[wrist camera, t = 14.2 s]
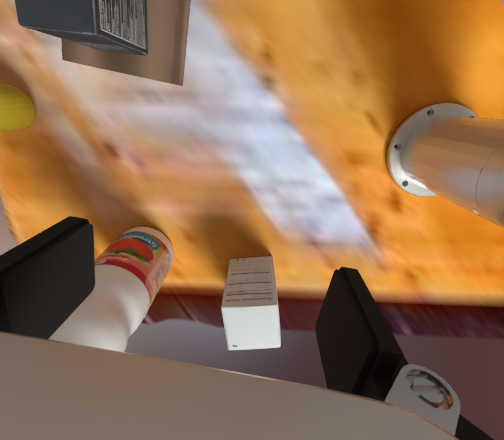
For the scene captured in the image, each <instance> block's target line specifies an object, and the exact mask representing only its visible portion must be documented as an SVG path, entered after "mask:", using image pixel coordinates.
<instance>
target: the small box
mask: <svg viewBox="0 0 504 440" xmlns="http://www.w3.org/2000/svg"><path fill="white" fill-rule="evenodd" d="M15 5H16V11H17V16H18V22H19V24H20V25H21V26H23V27H26V28H29V29H33V30H36V31H40V32H43V33H46V34H49V35H52V36H56V37H59V38H62V39H65V40H69V41H71V42H75V43H78V44H81V45H84V46H88V47H91V48H93V49H98V50H105V51H112V52H120V53H129V54H136V55H144V56H146V55H147V54H148V36H147V0H15Z"/></svg>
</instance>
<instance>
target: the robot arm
mask: <svg viewBox="0 0 504 440" xmlns="http://www.w3.org/2000/svg"><path fill="white" fill-rule="evenodd" d="M427 112H428V114H427ZM395 145H396V147H395V148H394V146H395ZM387 167H388V171H389V174H390V176H391V178H392V180H393V181H394V182H395V184H396V185H397V186H399V187H400V188H401V189H402V190H404V191H406V192H408V193H410V194H413V195H416V196H423V197H426V196H435V195H439V196H441V197H443V198H445V199H447V200H449V201H451V202H453V203H455V204H457V205H459V206H461V207H463V208H465V209H467V210H469V211H471V212H473V213H475V214H477V215H479V216H481V217H483V218H485V219H487V220H488V221H490V222H492V223H494V224H496V225H499V226H501V227H503V228H504V120H501V119H486V118H478V116H477V115H476V114H475V113H474V112H473V111H472V110H470V109H468V108H467V107H465V106H462V105H459V104H454V103H439V104H434V105H430V106H427V107H424V108H422V109H420V110H418V111H416V112H415V113H413V114H412V115H410V116H409V117H408V118H407V119H406V120H405V121H404V122H403V123H402V124H401V125H400V126H399V128H398V129H397V130H396V132H395V134H394V135H393V137H392V139H391V142H390V144H389V147H388V153H387ZM403 181H404V182H403ZM94 287H95V262H94V236H93V226H92V224H89V221H88V220H87V219H83V218H78V217H72V216H70V217H67V218H65V219H64V220H62V221H60V222H58V223H57V224H55V225H53V226H51V227H50V228H48V229H46V230H44V231H43V232H41V233H39V234H37V235H36V236H34V237H32V238H30V239H29V240H27V241H25V242H23V243H22V244H20V245H18V246H16V247H15V248H13V249H11V250H9V251H7V252H6V253H4V254H2V255H0V440H494V439H492V438H491V437H489V436H488V435H487V434H485V433H484V432H483V431H481V430H480V429H479V428H477V427H476V426H475V425H473V424H472V423H471V422H469V421H468V420H467V419H465V418H464V417H462V416H461V415H460V414H459V413H460V402H459V399H458V397H457V395H456V393H455V392H454V391H453V389H452V388H451V387H450V385H448V383H447V382H446V381H444V379H442V378H441V377H440V376H438V375H437V374H435V373H434V372H432V371H430V370H429V369H427V368H424V367H421V366H418V365H411V364H410V365H409V364H408V362H407V360H406V359H405V357H404V354H403V353H402V351H401V349H400V347H399V345H398V343H397V341H396V339H395V338H394V336H393V334H392V332H391V330H390V328H389V327H388V325H387V323H386V321H385V319H384V317H383V316H382V314H381V312H380V310H379V308H378V306H377V305H376V303H375V301H374V299H373V297H372V295H371V294H370V292H369V290H368V288H367V286H366V284H365V283H364V281H363V279H362V277H361V275H360V273H359V272H358V270H357V269H352V268H346V267H341V268H340V269H339V270H337V269H336V270H335V271H334V274H333V276H332V279H331V282H330V285H329V288H328V291H327V294H326V297H325V299H324V302H323V305H322V308H321V311H320V314H319V317H318V319H317V322H316V328H315V331H316V336H317V341H318V346H319V351H320V356H321V360H322V365H323V370H324V374H325V379H326V384H327V388H321V387H316V386H310V385H305V384H299V383H294V382H289V381H283V380H277V379H272V378H266V377H261V376H255V375H250V374H244V373H239V372H233V371H228V370H222V369H217V368H211V367H206V366H200V365H194V364H188V363H183V362H177V361H172V360H166V359H160V358H154V357H149V356H143V355H137V354H132V353H125V352H120V351H114V350H108V349H103V348H97V347H91V346H85V345H79V344H73V343H67V342H61V341H55V340H49V338H50V337H51V336H52V335H53V334H54V332H55V331H56V330H57V329H58V328H59V327H60V326H61V325H62V324H63V323H64V322H65V321H66V320H67V318H68V317H69V316H70V315H71V314H72V313H73V312H74V311H75V310H76V309H77V308H78V307H79V306H80V304H81V303H82V302H83V301H84V300H85V299H86V298H87V297H88V296H89V295H90V294H91V293H92V291H93V289H94Z"/></svg>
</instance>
